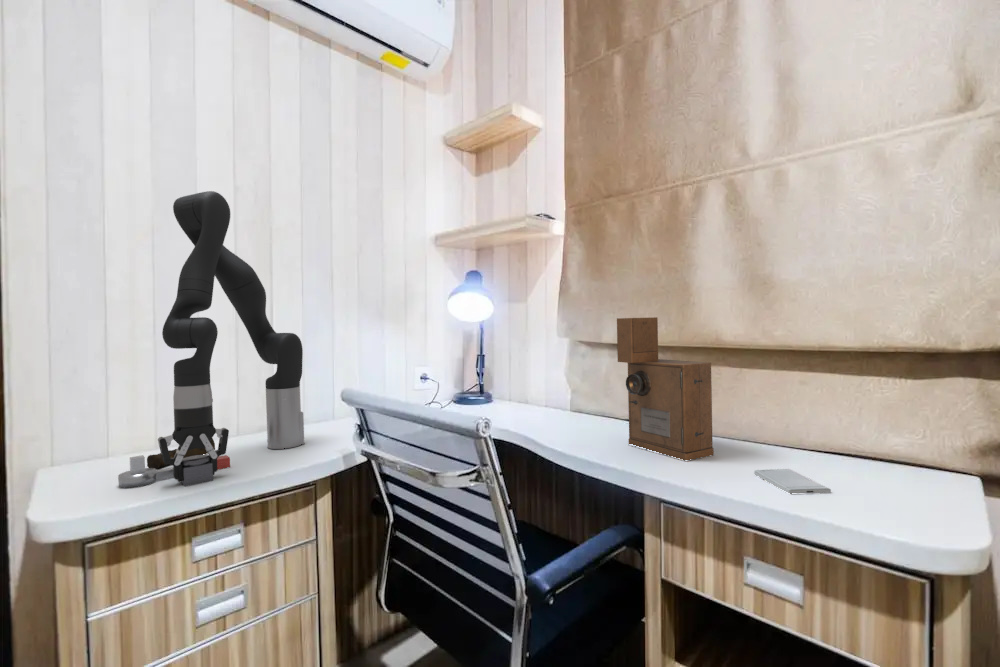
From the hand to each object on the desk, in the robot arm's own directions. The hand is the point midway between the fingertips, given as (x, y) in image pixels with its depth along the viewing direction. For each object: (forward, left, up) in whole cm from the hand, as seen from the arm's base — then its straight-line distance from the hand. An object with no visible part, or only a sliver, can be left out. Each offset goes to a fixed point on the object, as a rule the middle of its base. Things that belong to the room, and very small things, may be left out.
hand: (196, 477), depth 112 cm
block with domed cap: (0, 0, -1) cm, 1 cm away
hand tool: (-2, -25, -1) cm, 25 cm away
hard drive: (-88, +96, -2) cm, 130 cm away
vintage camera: (-95, +64, -1) cm, 115 cm away
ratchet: (+3, -8, -1) cm, 8 cm away
